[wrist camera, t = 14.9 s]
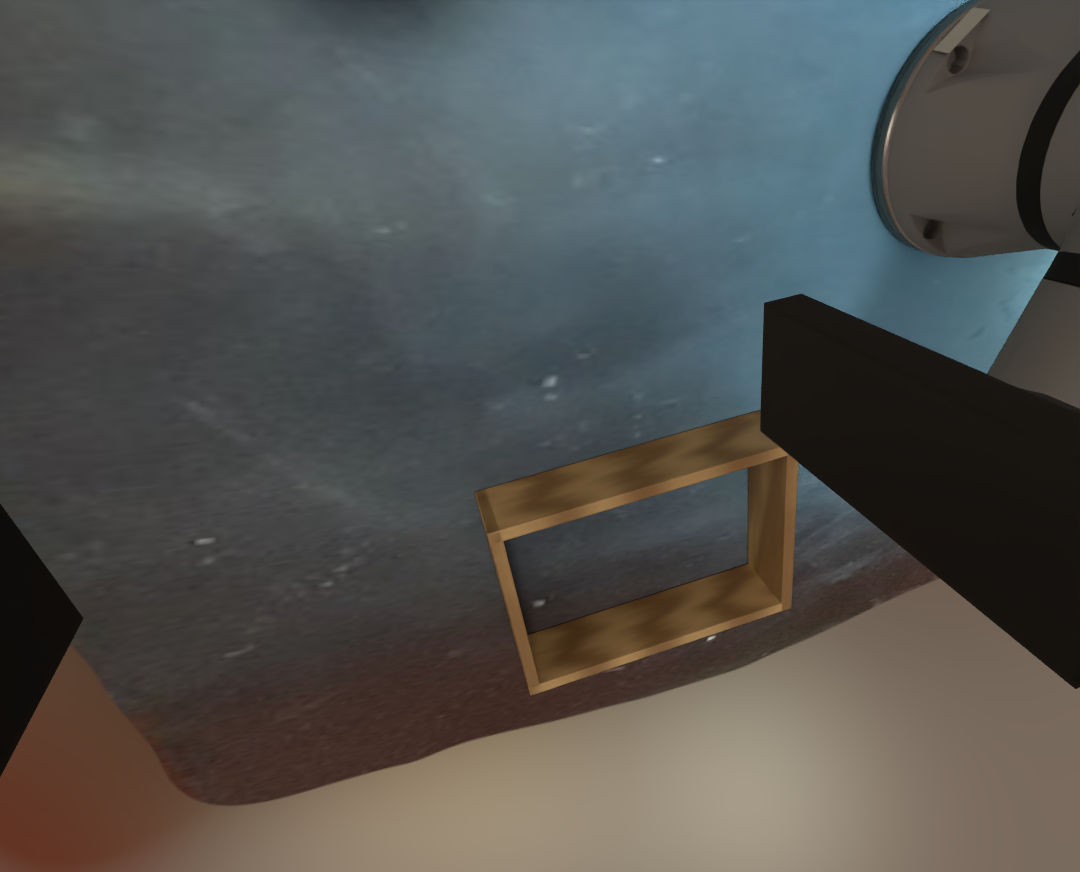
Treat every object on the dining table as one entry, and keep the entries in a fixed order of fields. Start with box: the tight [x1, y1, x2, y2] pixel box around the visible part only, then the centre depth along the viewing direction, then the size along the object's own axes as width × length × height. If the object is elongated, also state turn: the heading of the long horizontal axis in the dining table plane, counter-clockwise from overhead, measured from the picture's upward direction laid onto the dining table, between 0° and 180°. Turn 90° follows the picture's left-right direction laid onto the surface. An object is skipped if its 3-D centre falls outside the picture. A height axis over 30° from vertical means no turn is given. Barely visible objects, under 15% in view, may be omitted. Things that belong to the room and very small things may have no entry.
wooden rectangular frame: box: [475, 410, 798, 695], centre depth 47 cm, size 22×16×5 cm
